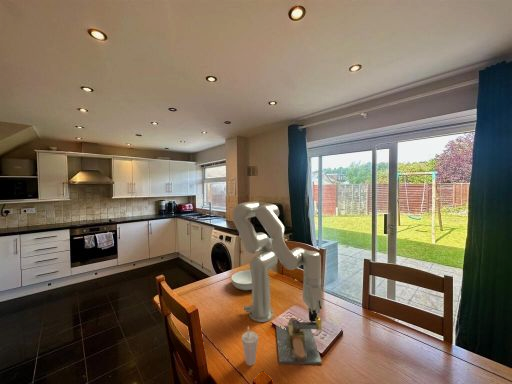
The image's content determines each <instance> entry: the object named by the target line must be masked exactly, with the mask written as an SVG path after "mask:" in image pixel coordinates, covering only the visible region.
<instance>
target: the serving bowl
mask: <svg viewBox="0 0 512 384" xmlns="http://www.w3.org/2000/svg"><path fill="white" fill-rule="evenodd" d="M230 278H231V283H232V285H233V286H234V287H235V288H237V289H239V290H241V291H250V290H251V291H252V279H251V272H250V269H246V270H240V271H237V272H235V273H233V274H232V275H231V277H230Z"/></svg>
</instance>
